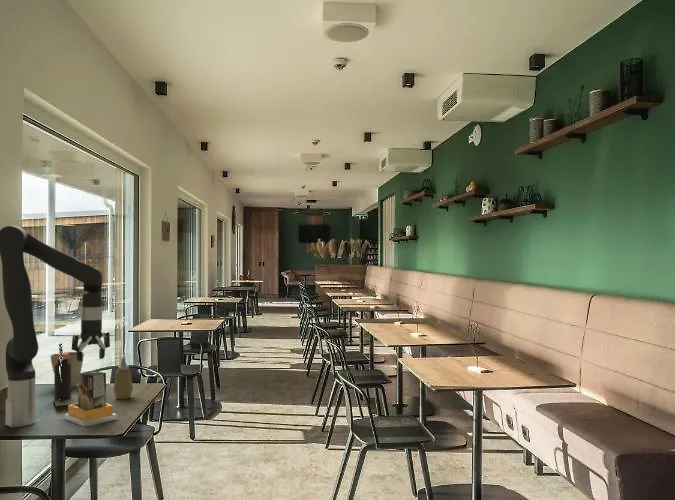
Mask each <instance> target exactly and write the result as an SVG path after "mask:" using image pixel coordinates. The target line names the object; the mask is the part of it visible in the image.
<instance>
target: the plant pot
mask: <svg viewBox="0 0 675 500" xmlns="http://www.w3.org/2000/svg"><path fill="white" fill-rule="evenodd" d="M59 353H60V352H57V353H53V354H51V355H50V362H51V363H50V364H51V366H52V371H53V372H54V368H55V365H56V364H57V362H58V360H57V354H59ZM63 353H69V360H68V362H69V363H70V364H71V389H72V388H75V387H76V386H77V385H78V374H79V373H82V372H81V371H82V369H83V368H82V367H83V363H84V357H85V353H84V352H83V351H82V361H81V362H80V361H78V360H77V352H76V351H68V352H67V351H66V352H63Z"/></svg>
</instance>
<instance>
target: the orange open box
mask: <svg viewBox="0 0 675 500" xmlns="http://www.w3.org/2000/svg"><path fill="white" fill-rule="evenodd" d="M67 411H68V412H67V413H64V418H63V419H64V420H66V421H69V422H70V423H73V424H76V425H79V426H81V427H83V428H85V427H89V426H93V425H98V424H102V423H106V422H111V421H115V420H118V419H117V418H118V416H117V413H114V405H113V404H110V403H107V402H106V406H104V407H99V408H94V409H89V410H85V409H82V408H79V407H78V402H77V403H76V402H75V403H72V404H71V403H70V404H68V406H67Z"/></svg>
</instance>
